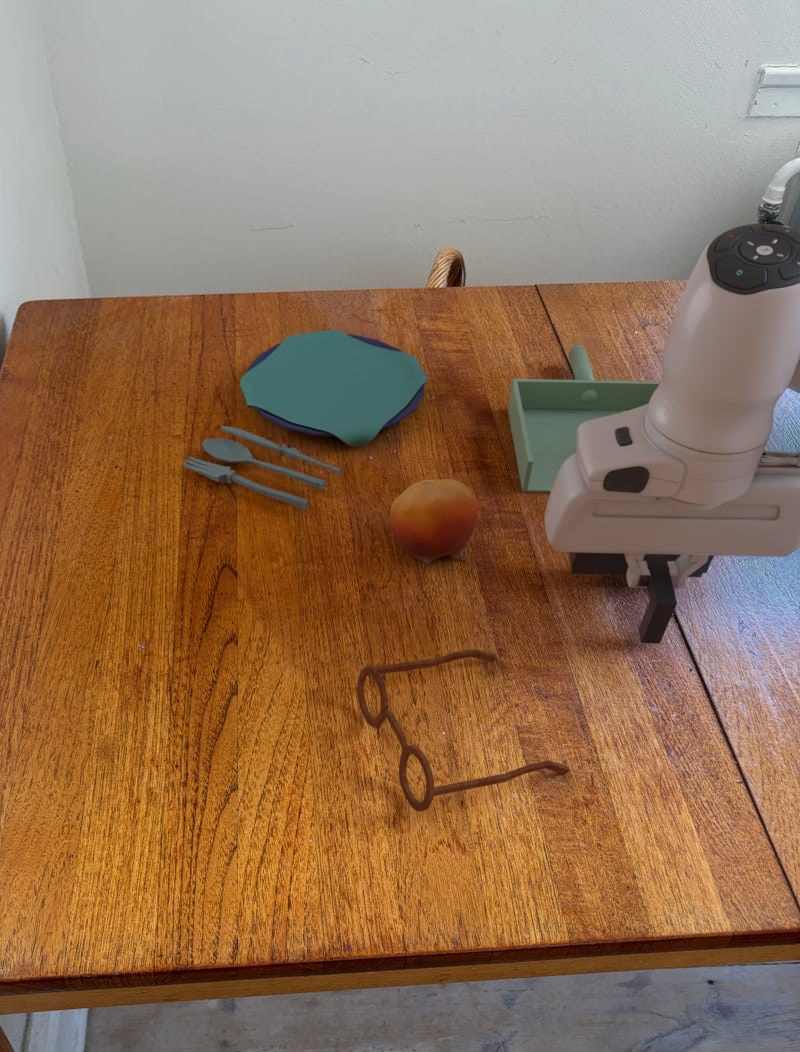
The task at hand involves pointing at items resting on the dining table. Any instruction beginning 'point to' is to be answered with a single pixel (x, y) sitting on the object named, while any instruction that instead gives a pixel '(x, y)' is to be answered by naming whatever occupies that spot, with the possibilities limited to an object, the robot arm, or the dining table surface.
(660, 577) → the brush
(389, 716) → the glasses
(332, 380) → the cutlery set
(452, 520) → the fruit
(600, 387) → the dustpan
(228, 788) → the dining table surface
